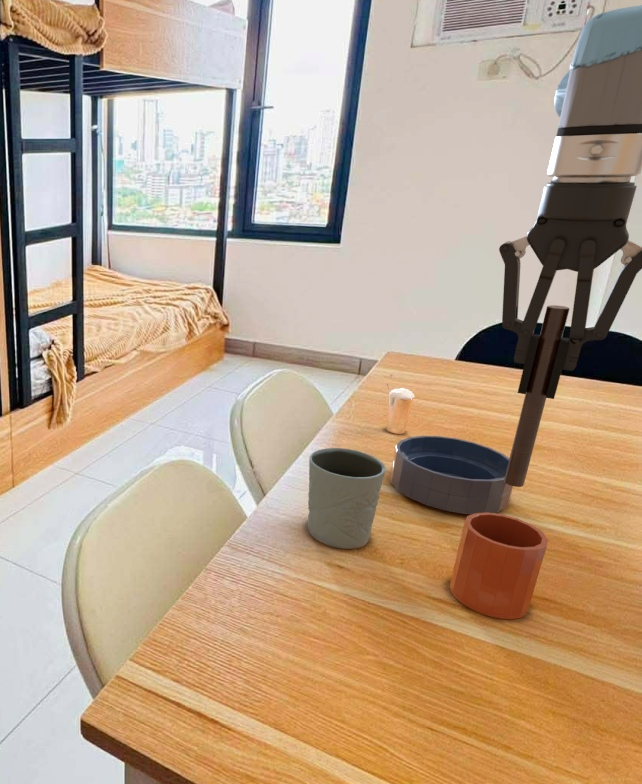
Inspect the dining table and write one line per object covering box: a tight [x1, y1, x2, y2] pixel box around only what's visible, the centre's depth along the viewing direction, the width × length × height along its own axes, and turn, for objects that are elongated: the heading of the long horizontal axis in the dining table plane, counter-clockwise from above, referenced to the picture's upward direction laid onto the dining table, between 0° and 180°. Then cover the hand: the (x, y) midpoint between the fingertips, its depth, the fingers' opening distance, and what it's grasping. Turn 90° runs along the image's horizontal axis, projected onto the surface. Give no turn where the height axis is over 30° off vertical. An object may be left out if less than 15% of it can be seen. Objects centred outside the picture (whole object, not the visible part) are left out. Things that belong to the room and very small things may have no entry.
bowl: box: [389, 435, 514, 515], centre depth 105 cm, size 17×17×6 cm
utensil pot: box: [449, 512, 549, 620], centre depth 79 cm, size 8×8×10 cm
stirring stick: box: [504, 304, 570, 488], centre depth 73 cm, size 2×2×22 cm
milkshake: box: [386, 383, 415, 435], centre depth 129 cm, size 4×5×10 cm
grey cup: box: [307, 447, 387, 550], centre depth 93 cm, size 10×10×12 cm
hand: (536, 392), depth 73 cm, fingers closed on stirring stick, 2 cm apart
